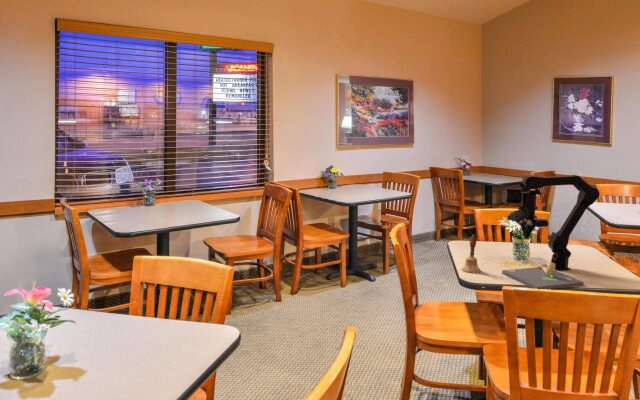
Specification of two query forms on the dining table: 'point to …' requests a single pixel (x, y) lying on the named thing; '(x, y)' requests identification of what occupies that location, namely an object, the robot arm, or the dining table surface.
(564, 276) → the grey flat square slab
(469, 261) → the hand bell
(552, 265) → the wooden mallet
